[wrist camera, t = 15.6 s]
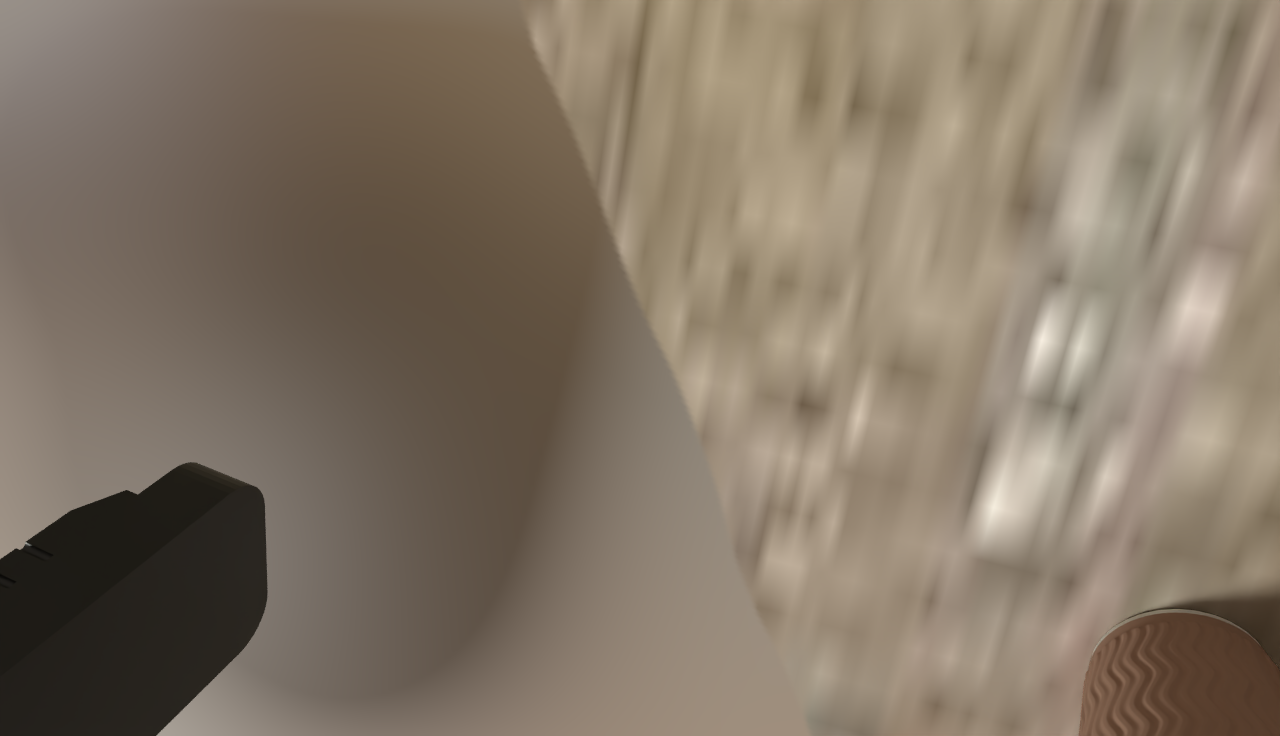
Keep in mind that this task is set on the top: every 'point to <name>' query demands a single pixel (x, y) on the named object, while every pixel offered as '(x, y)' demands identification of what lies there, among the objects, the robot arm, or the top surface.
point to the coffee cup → (1180, 679)
